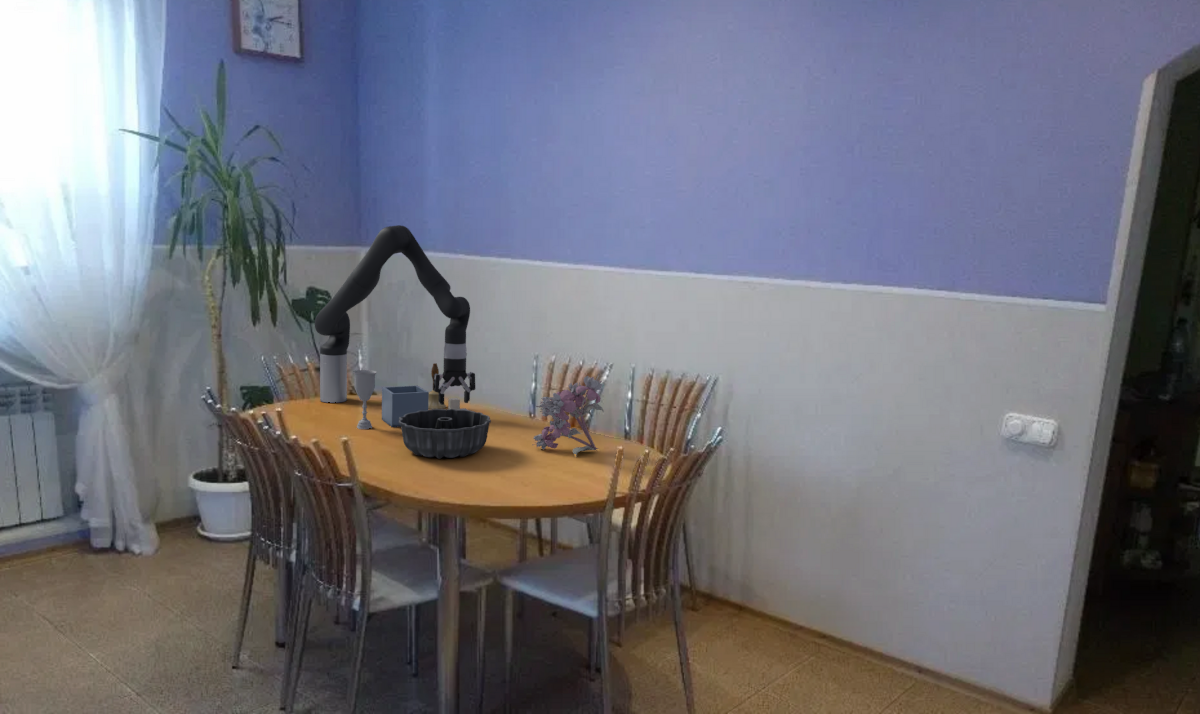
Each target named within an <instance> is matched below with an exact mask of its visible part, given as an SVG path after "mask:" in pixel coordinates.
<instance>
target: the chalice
mask: <svg viewBox="0 0 1200 714" xmlns="http://www.w3.org/2000/svg"><path fill="white" fill-rule="evenodd" d="M352 372H353V374H354V389H355V392H356V394H357V396H358V397H359V400H360V401H362V406H361V407H362V412H361V413H362V418H361V419H360V420H358V423H357V425H356V427H357V428H358V429H359V430H370V429H369V428H371V429H372V427H373V425H372V423H371V420H369V419H368V418H367V413H368V411H367V408H368V406H367V401H369V400H370V399H371V397H372V395H373V393H374V391H375V387H376V374H377V370H371V369H370V370H369V369H368V370H367V369H361V370H359V369H358V370H353V371H352ZM357 428H356V429H357ZM358 429H357V430H358Z"/></svg>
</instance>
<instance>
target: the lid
mask: <svg viewBox="0 0 1200 714" xmlns="http://www.w3.org/2000/svg"><path fill="white" fill-rule="evenodd" d="M447 400H448V402H447V404H448V405H447V406H448V407H447V409H456V410H468V408H463V407H462V408H460V407H461V399H460V398H458V397H451V398H450V397H449V398H448V399H447Z"/></svg>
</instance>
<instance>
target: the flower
mask: <svg viewBox="0 0 1200 714" xmlns="http://www.w3.org/2000/svg"><path fill="white" fill-rule="evenodd" d="M599 377H600V373H597V377H596V379H595V377H594V376H591V377H590V376H589V375H587V376H585V377H583V383H584V385H582V384H581V381H578V382H575V383H574V384H572V382H570V383H569V384H568V389H564V390H562V391H557V392H556V393H555V392H553V393H552V397H551V396H550V397H549V396H543V397H541V399H542V400H540V403H539V404H540V405H535V407H536V408H540V411H539V413H540V414H541V416H542V417H548V416H551V417H552V420H553V421H551V420H549V426H544V427H543V429H542V430H541V433H539V434H537V435H534V436H533V439H532V440H533V442H534V444H532V445H531V446H535V445H536V448H540V449H541V448H542V449H543V450H545V449H546V448H547V447H548V448H550V449H554V450H555V449H556V448H558V445H559V443H558V442H557V443H556V442H555V441H556V440H557V439H559V438H561V437H565V438H568V439H572V440H574V441H576V442H578V443H581V444H583V445H584V446H581V447H580V446H578V447H574V448H572V453H573V455H574V454H576V455H577V456H578V453H581V452H580V451H582V452H586V451H595V450H596V449H599V448H598V447H596V445H595V443H594V441H593V439H592V436H591V434H590V433H589V430H588V428H587V425H586V421H585V419H584V416H585V415H587V414H589V416H593V415H592V412H591V411H592V410H596V411H602V413H604V412H605V411H604V409H603V407H602V406H601V405H600V404H599V403H601V400H602V399H601V396H600V395H599V393H598V392H597V391H600V390H601V389H602V387H603V383H602V380H600V379H598V378H599ZM584 395H585V397H584ZM587 400H589V401H590V402H591V401H595V403H589V404H586V403H587ZM567 413H568V414H569V415H570V416H571V417H574V418H575V419H576V421H577V423H578V424H579V427H580V428H581V430H582V432H583V433H584V435H585V437H586V439H587V440H588V442H587V441H585V440H583V439H582V438H578V437H576V436H575V435H578V434H580V435H582V433H581V432H580V431H579V430H578V429H577V428H576V427H572V428H571V422H569V421H568V420H570V416H568V415H567ZM596 451H597V450H596Z"/></svg>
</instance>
